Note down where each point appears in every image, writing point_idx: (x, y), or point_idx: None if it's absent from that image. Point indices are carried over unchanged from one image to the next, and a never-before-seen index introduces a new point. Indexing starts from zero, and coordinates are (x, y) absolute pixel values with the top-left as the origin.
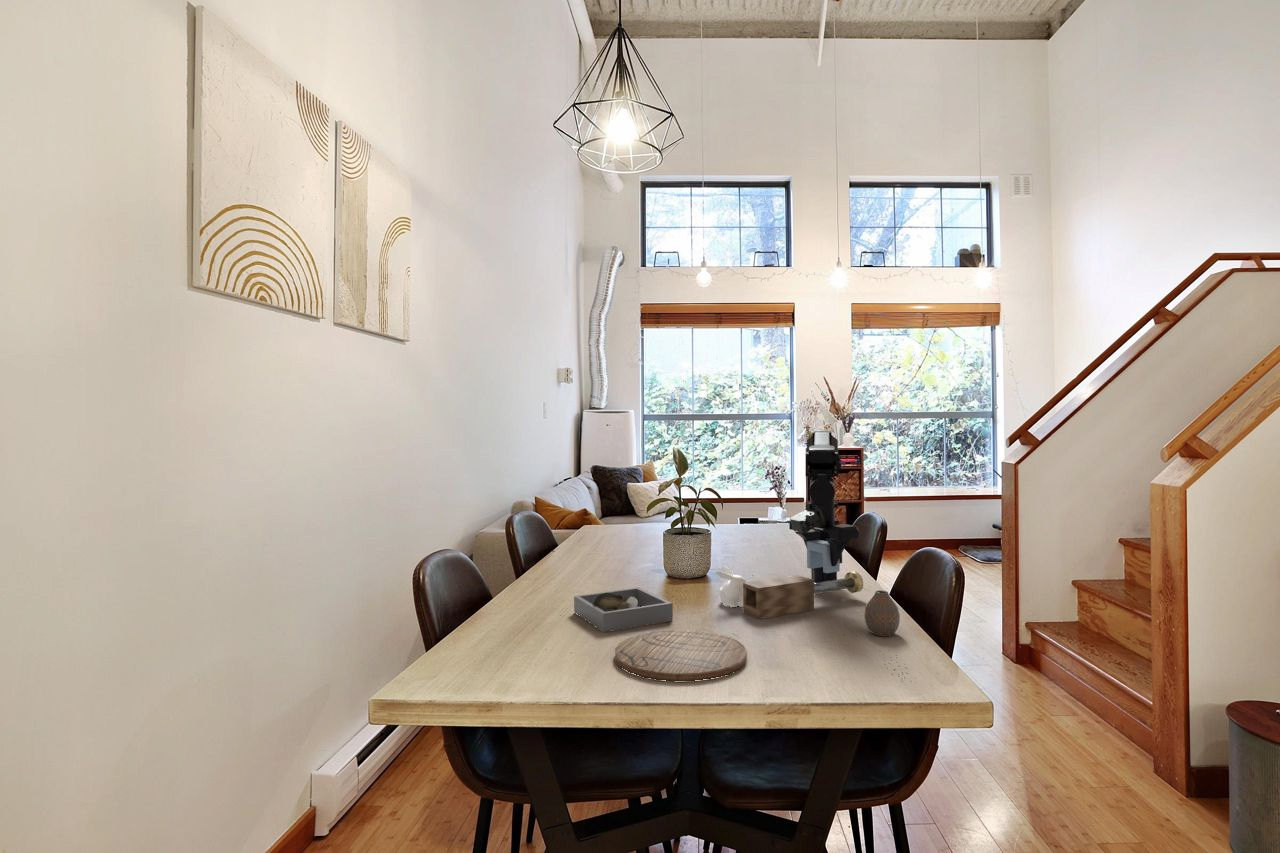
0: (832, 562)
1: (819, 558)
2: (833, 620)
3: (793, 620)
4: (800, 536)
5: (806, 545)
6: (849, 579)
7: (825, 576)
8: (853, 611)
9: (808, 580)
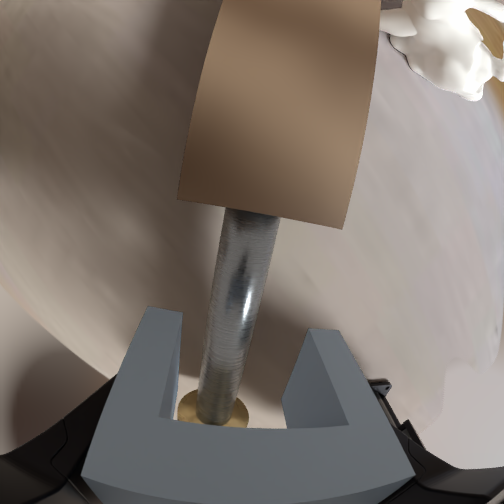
0: (113, 378)
1: (297, 421)
2: (74, 132)
3: (162, 24)
4: (482, 469)
5: (410, 447)
6: (204, 412)
7: None
8: (105, 270)
9: (188, 155)
